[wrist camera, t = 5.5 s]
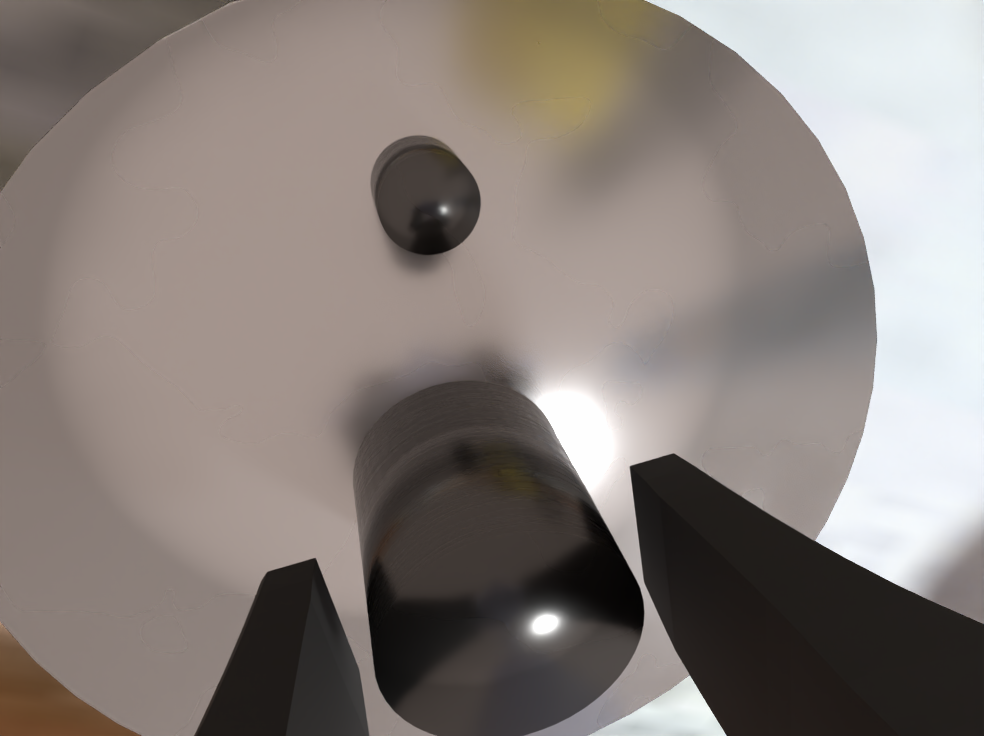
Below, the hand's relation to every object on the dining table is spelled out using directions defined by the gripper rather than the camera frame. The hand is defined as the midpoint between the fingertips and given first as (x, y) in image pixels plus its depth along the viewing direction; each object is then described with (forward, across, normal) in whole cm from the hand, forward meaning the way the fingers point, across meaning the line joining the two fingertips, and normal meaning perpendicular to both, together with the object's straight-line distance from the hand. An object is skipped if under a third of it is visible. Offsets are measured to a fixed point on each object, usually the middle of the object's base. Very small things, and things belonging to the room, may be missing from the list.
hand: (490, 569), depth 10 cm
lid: (+3, 0, 0) cm, 3 cm away
